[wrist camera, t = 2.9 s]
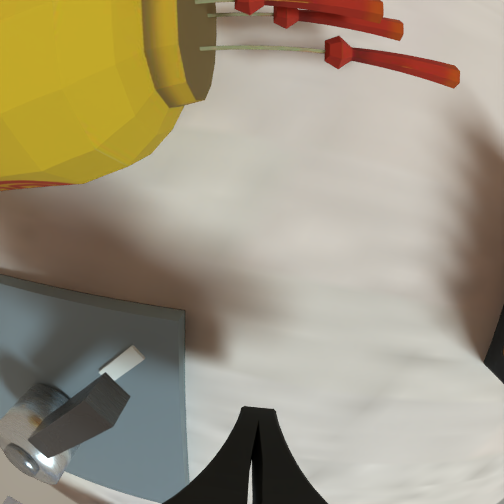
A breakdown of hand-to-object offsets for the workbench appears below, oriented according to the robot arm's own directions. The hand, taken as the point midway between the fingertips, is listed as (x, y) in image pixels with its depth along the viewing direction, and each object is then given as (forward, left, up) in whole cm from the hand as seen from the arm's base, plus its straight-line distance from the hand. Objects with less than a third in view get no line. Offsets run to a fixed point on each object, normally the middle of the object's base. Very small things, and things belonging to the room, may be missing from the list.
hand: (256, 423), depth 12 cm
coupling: (-3, +10, -2) cm, 11 cm away
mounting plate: (-6, +13, -4) cm, 15 cm away
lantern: (+14, +10, -4) cm, 18 cm away
